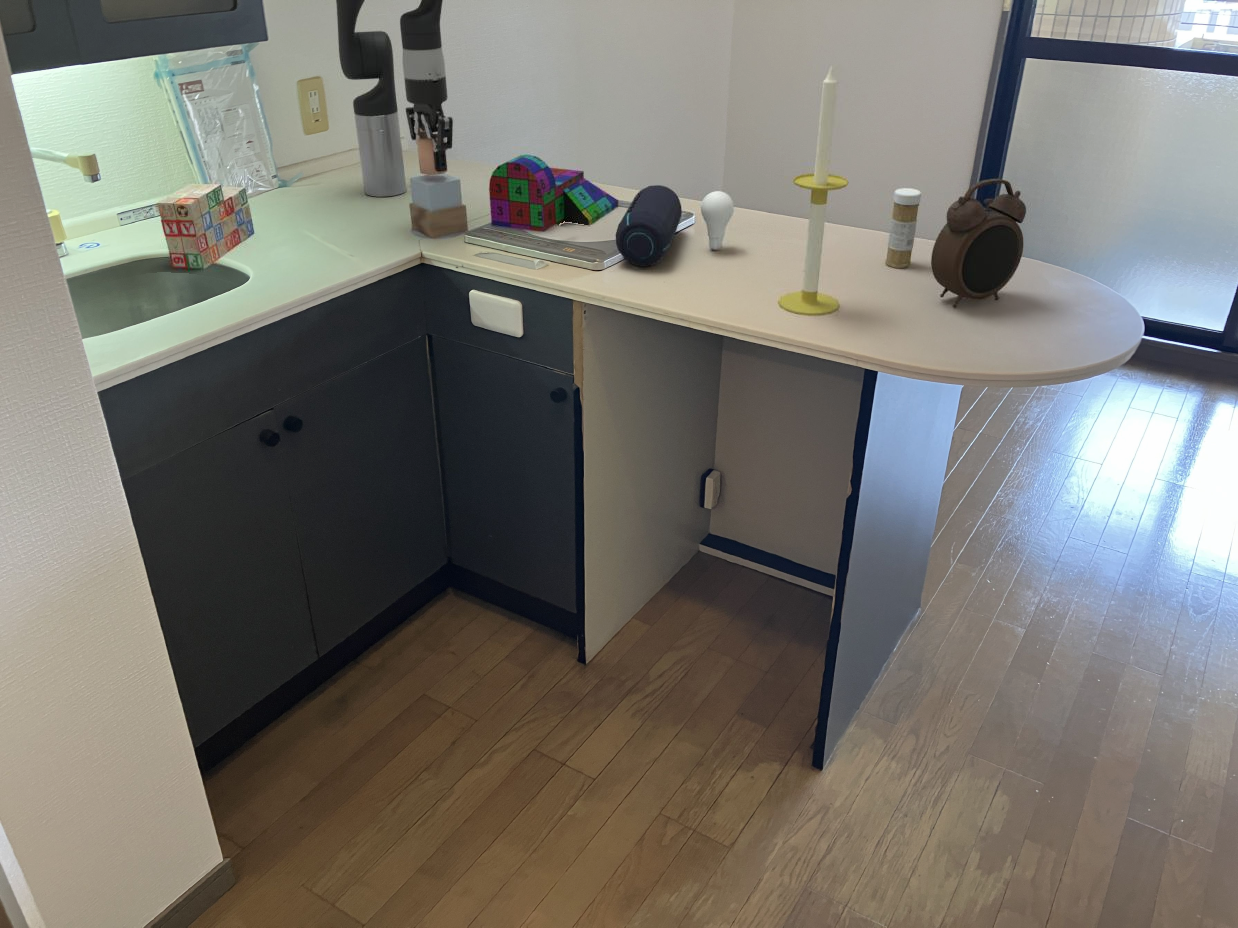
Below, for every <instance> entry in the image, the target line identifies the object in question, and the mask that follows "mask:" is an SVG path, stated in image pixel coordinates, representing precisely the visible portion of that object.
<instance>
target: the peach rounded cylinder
mask: <svg viewBox="0 0 1238 928" xmlns="http://www.w3.org/2000/svg"><path fill="white" fill-rule="evenodd" d="M436 141H437V144H438V138H437V139H436ZM416 146H417V155H418V165H419V173H420V174H422V175H437V174H443V173H445V174H447V172H448V169H447V170H446V171H442V172H438V171H436V170H435V164H434V154H433V152H434V150H433V146H432V142H431V140H429V139H428V137H427V136H426V137H421V138H418V139H417V144H416ZM446 162H447V163H448V161H447V158H446Z"/></svg>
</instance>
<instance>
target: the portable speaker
mask: <svg viewBox="0 0 1238 928" xmlns="http://www.w3.org/2000/svg"><path fill="white" fill-rule="evenodd" d="M682 213H683V211H682V203H681V200H680V199H679V196H678V195H677V193H676V192H675V191H673V189H671V188H670V187H667V186H665V185H660V184H658V185H657V184H656V185H649V186H647V187H645V188H642V189H641V190H639V191H638V192H637V194H636V195H635V196H634V198H633V199H632V201H631V203H630V204H629V207H628V208H627V209H626V212H625V213H624V215H623V216H622V218H621V221H619V223H618V225H617V227H616V232H615V244H616V247H617V250H618V252H619V254H620V255H621V256H622V257H623V258H624V260H626V261H627V262H629V263H630V264H632V265H635V266H640V267H646V266H652V265H655V264H657V263H658V262H659V261H661V259H662V258H663V257H664V256H665V255H666V254H667V253H668V251H669V249H670V246H671V244H672V242H673V240H674V239H673V238H674V237H675V235H676V231H677V229H678V227H679V224H680V221H681V218H682Z"/></svg>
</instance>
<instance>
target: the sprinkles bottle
mask: <svg viewBox="0 0 1238 928" xmlns="http://www.w3.org/2000/svg"><path fill="white" fill-rule="evenodd" d="M921 198H922V192H921V191H920V190H918V189H916V188H910V187H909V188H907V187H906V188H905V187H903V188H898V189H895V191H894V193H893V199H892V200H893V209H892V215H891V221H890V229H889V234H888V242H887V252H886V259H885V264H886V265H887V266H889V267H891V268H894V269H896V268H897V269H905V268H908V267H910V266H911V264H912V263H911V262H912V261H911V260H912V259H911V258H912V252H913V247H914V242H915V236H916V228H917V222H918V213H919V212H918V211H919V206H920V203H921Z"/></svg>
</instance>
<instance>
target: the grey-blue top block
mask: <svg viewBox="0 0 1238 928" xmlns="http://www.w3.org/2000/svg"><path fill="white" fill-rule="evenodd" d="M409 183H410V191H411V192H410V193H411V201H412V203H413V204H414V205H416V206H418V207H421V208H423V209H425V210H428V211H430V212H433V211H437V210H442V209H447V208H451V207H456V206H461V205H462V204H463V199H462V186H461V185H462V184H461V179H460V178H458V177H455V176H453V175H452V176H451V175H450V174H448V173H443V174H437V175H426V174H423V175H420V176H419V175H418V176H414V177H410V178H409Z"/></svg>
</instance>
